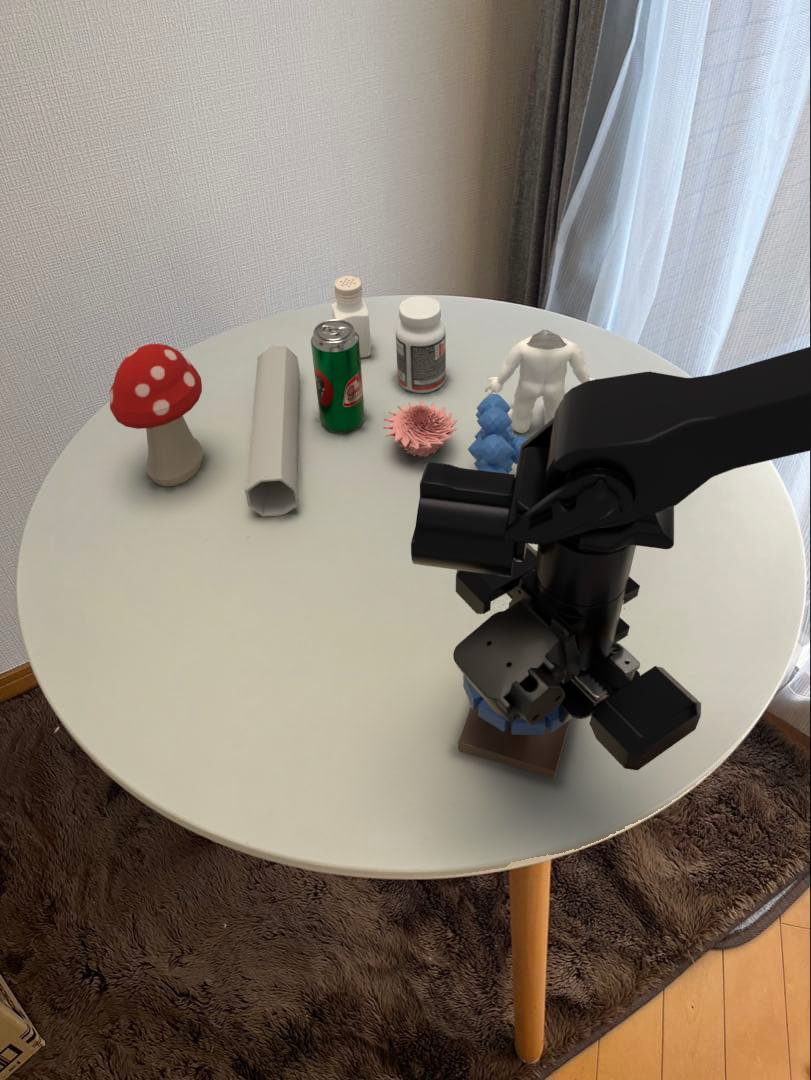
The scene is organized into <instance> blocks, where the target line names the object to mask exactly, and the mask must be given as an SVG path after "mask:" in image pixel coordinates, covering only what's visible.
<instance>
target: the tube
mask: <svg viewBox="0 0 811 1080" xmlns="http://www.w3.org/2000/svg"><path fill="white" fill-rule="evenodd" d="M256 360H257V361H256V371H255V373H256V374H255V384H254V385H255V386H254V397H253V399H254V400H253V411H252V412H253V414H252V425H251V437H250V451H249V464H248V477H247V485H246V486H245V487H244V493H245V498H246V503H247V506H248V507H249V508H250V509H252V510H253V511H254V512H256V513H257V514H259V515H260V516H262V517H263V518H264V517H276V516H277V517H281V516H285V515H286V514H288V513H289V512H291V511H292V510H294V509H295V508H296V507H299V505H300V501H299V496H298V495H299V494H298V453H299V452H298V450H299V447H298V446H299V400H300V398H299V393H300V368H299V367H300V366H299V358H298V356H297V355H296V354H295V353H294V352H293V351H292V350H291V349H290V348H288V347H287V346H284V345H273V344H272V345H271V346H269V347H268V348H266V350H265V351H263V352H261V354H259V355H258V356H257V359H256Z"/></svg>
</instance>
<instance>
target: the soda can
mask: <svg viewBox="0 0 811 1080" xmlns="http://www.w3.org/2000/svg"><path fill="white" fill-rule="evenodd" d="M312 331H313V332H312V333H313V334H312V336H311V338H310V346H311V354H312V363H313V373H314V380H315V388H316V396H317V404H318V412H319V421H320V423H321V424H322V426H323V427H325V428H326V429H327V430H329V431H331V432H334V433H349V432H352V431H354V430H356V429H357V428H359V427H360V426H361V424H363V423H364V421H365V417H366V415H365V400H364V386H363V373H362V360H361V359H362V358H360V345H359V336H358V334H357V333H356V331H355V329H354V326H353V325H352V324H351V323H349V322H347V321H345V320H339V319H333V318H332V319H327V320H324V321H322V322H319V323H318V324H317V325H316V326H315V327H314V329H313V330H312Z"/></svg>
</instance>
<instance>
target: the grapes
mask: <svg viewBox="0 0 811 1080" xmlns="http://www.w3.org/2000/svg"><path fill="white" fill-rule="evenodd" d="M510 409H512V407H511V406H510V405H509V404H508V402H507V401H506V400H505V399H504V397H503V396H501V395H500V394H498V395H497V394H494V393H492V394H491V395H489V396H487V395H486V397H484V398H483V399H482V400H481V402H480V403H479V404H478V405H477V407H476V410H477V412H476V414H475V417H476V418H477V420H476V422H477V424H478V425H479V427H480V429H479V430H478V432H476V434H475V435H474V438H475V440H474V441H473V442H472V443H471V444H470V445H469V447H468V448H467V451H468V452H469V454H470V455H471V456H472V457H473V459H475V461H474V462H473V465H474V466H475V468H476V469H477V470H482V471H490V472H499V473H507V474H511V472H512V471H513V464H515V465H517V463H518V458H519V452H520V447H521V445H522V444H523V443H524V442H525V441H526V440H527V439H528V438H526V437H525V436H522V435H516V436H515V435H514V431H515V430H514V429H513V428H512V427H511V425H510V424H511V423H512V420H511V419H510V417H509V415H508V412H509V411H510Z"/></svg>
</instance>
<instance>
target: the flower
mask: <svg viewBox="0 0 811 1080" xmlns="http://www.w3.org/2000/svg"><path fill="white" fill-rule="evenodd" d="M408 405H409V407H404V406H400V405H397V409H399V411H396V412H393V411H388V414H389V415H393V416H391V417H388V418H383V421H384V422H388V423H389V422H390V423H389V424H387V425H385V426H382V429H383V430H386V429H387V430H391V431H390V432H389V433H387V434H386V435H385V437H394V439H393V444H396V443H399V445H398V446H399V447H400V448H402V450H405V451H406V454H410V456H413V457H415V456H418V457H419V458H422V457H425V458H427V457H428V456H430V455H431V454H436V453H437V451H438V450H439V449H442V448H443V446H444V444H445V442H446V441H447V440H450V439H452V438H453V436H452V434H453V433H455V432H456V431H457V430H458V429H457V428H455V427H454V426H455V424H456V423H458V420H455V419H454V420H452V418H453V415H454V413H453V412H450V413H448V414H446V406H443V407H441V408H439V409H438V408H437V406H436V403H435V402H432V404H431V405H430V406H428V405H426V403H424V402H423V401H420V404H418V405H417V404H413V403H411V402H408Z"/></svg>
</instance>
